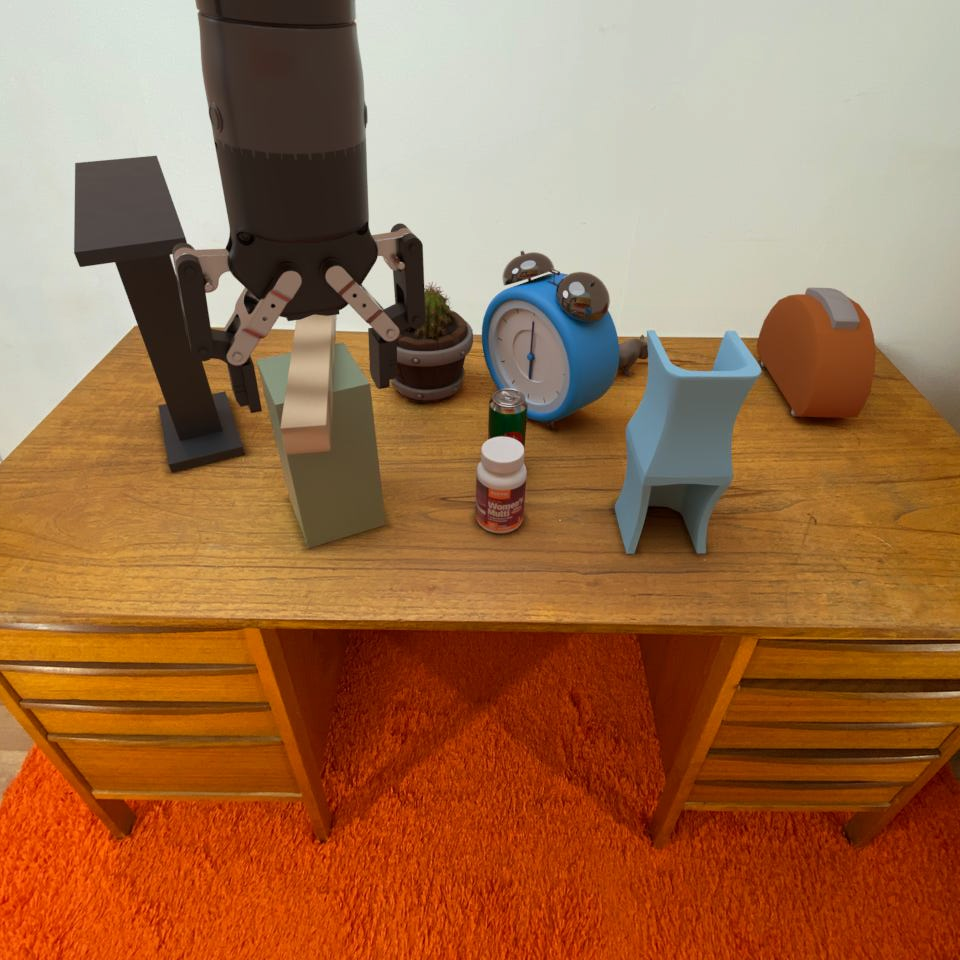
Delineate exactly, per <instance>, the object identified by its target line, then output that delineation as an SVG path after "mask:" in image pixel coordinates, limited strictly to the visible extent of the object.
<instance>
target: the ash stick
mask: <svg viewBox="0 0 960 960" xmlns="http://www.w3.org/2000/svg"><path fill="white" fill-rule="evenodd" d="M337 317H338V315H330V316H323V315H311V316H309V317H306V318H303V319H301V320H295V327H294V333H293V340H292V345H291V352H292V353H291V352H290V353H291V359H290V366H289V373H288V380H287V386H286V393H285V400H284V407H283V414H282V420H281V427H280V429H281V434H282V438H283V442H284V447H285V451H286V454H287V455H288V454H301V453H313V452H326V451H331V432H332V409H333V386H334V363H335V344H336V339H337Z"/></svg>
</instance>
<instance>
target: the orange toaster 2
mask: <svg viewBox="0 0 960 960" xmlns="http://www.w3.org/2000/svg"><path fill="white" fill-rule="evenodd" d="M872 327H873V326H872V323H871V319H870V318H869V316H868V315H867V313H866V312H865V310H864V308H862V306H861V304H859V303H858V302H856V301H855V300H853V299H852V298H850V297H849V296H848V295H846V294H845V293H844V292H842V290H839V289H836V288H831V287H807V288H806V290H805V292H804V294H802V293H801V294H799V293H798V294H790V295H787V296H785V297H783V298H780V299H779V300H777V302H776V303H775V304H774V305H773V306H772V307H771V308H770V310H769V312H768V313H767V315H766V317H765V319H764V320H763V323H762V325H761V328H760V331H759V334H758V338H757V343H756V352H757V355H758V357H759V359H760V361H761V362H760V365H761V366H760V367H762V368H766V370H767V372H768V373H769V374H770V377H771V378H772V379H773V381H774V383H775V385H776V386H777V387H778V389H779V391H780V392H781V394H782V395H783V397H784V399H785V400H786V402H787V403H788V405H789V406H790V408H791V411H790V414H791V416H792V417H797V418H798V417H799V418H832V419H833V418H837V419H838V418H839V419H845V418H846V419H850V418H857V417H858V416H859V415H860V413H861V412H862V410H863V408H864V407H865V405H866V403H867V400H868V398H869V396H870V394H871V390H872V386H873V380H874V375H875V370H876V369H875V368H876V356H877V355H876V354H877V353H876V352H877V351H876V343H875V334H874V331H873V328H872Z"/></svg>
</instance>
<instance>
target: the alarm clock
mask: <svg viewBox="0 0 960 960" xmlns="http://www.w3.org/2000/svg"><path fill="white" fill-rule="evenodd" d="M519 252H520V255H517V256H516V257H513V258H512V259H510V260H509V262H507V264H506V265H505V267H504V268H503V272H502V278H501V279H502V284H503V286H508V285H513V284H515V283H516V284H517V283H519V282H521V283H519V284H517V285H513V286H511V287H508V288H505V289H503V290H502V291H500V292H499V293H498V294H496V295H495V296H494V297H493V298H492V299H491V300H490V302H489V304H488V306H487V308H486V310H485V312H484V315H483V319H482V324H481V325H482V326H481V347H482V353H483V357H484V358H483V359H484V362H485V364H486V368H487V371H488V374H489V375H490V378H491V380H492V383H493V384H494V385H495V387H496V388H497V391H498V390H500V389H515V390H518V391H520V392H522V393H523V394H524V395H525V400H526V401H527V404H528V409H527V419H529V420H532V421H535V422H539V423H547V426H548V427H549V429H550V431H553V430H555V426H554V423H555V422H558V421H560V420H562V419H564V418H567V417H569V416H570V415H572V414H574V413H575V412H578V411H579V410H581V409H583V408H585V407H587V406H589V405H591V404H592V403H594V402H597V401H598V400H600V399H601V398H602V397H603V396H605V394H607V393H608V391H609V390H610V389H611V387H612V386H613V384H614V381H615V379H616V376H617V374H618V370H619V368H618V365H619V344H620V342H619V336H618V332H617V328H616V325H615V322H614V320H613V317H612V315H611V313H610V310H609V309H610V303H611V299H610V298H611V296H610V293H609V289H608V288H607V286H606V284H605V283H604V282H603V281H602V279H600V278H599V277H598V276H596V275H594V274H592V273H590V272H587V271H574V272H570V273H568V274H567V273H561V271H559V270H557V269H555V265H554V263H553V261H552V259H551V258H549V256H547V255H545V254H544V253H541V252H535V251H532V252H531V251H530V252H526V253H525V251H524V250H521V251H519ZM546 273H547V274H546ZM544 274H545V275H544ZM535 277H536V278H535ZM532 278H533V279H532ZM526 280H527V281H526ZM522 281H525V282H522Z"/></svg>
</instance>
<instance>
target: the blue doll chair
mask: <svg viewBox="0 0 960 960" xmlns="http://www.w3.org/2000/svg"><path fill="white" fill-rule="evenodd" d="M646 342H647V345H648V358H647V379H646V387H645V390H644V392H643V396H642V398H641V401H640V403H639V405H638V407H637V409H636V411H635V412H634V414H633V415H632V417H631V418H630V420H629V421H628V422H627V424H626V427H625V445H626V469H625V472H626V473H625V477H624V482H623V485H622V487H621V491H620V493H619V496H618V497H617V500H616V502H615V504H614V513H615V517H616V520H617V523H618V527H619V528H618V529H619V531H620V535H621V539H622V543H623V546H624V547H623V548H624V550H625V554H626V555H635V553H636V550H637V548H638V543H639V542H640V538H641V534H642V530H643V528H644V524H645V520H646V517H647V512H648V508H649V507H665V508H669V509H671V510H673V511H676V512H678V513H679V514H681V516H682V518H683V521H684V524H685V526H686V528H687V532H688V534H689V537H690V539H691V542H692V545H693V547H694V550H695V552H696V554H697V555H699V554H707V535H708V534H707V533H708V532H707V531H708V526H709V522H710V518H711V515H712V513H713V510H714V509H715V508H716V505H717V504H718V502H719V501H720V499H721V498H722V496H723V495H724V493H725V492H726V491H727V490H728V489H729V487H730V486H731V485H732V481H733V479H734V467H733V456H732V455H733V454H732V453H733V452H732V451H733V450H732V448H733V447H732V443H733V434H734V428H735V423H736V422H737V418H738V416H739V412H740V411H741V408H742V406H743V404H744V402H745V401H746V399H747V397H748V395H749V393H750V392H751V390H752V389H753V387H754V386H755V384H756V383H757V381H758V379H759V378H760V376H761V374H762V368H761V366H760V364H759V363H758V361H757V360H756V358H755V357H754V356H753V353H752V352H751V351H750V350H749V348H748V347H747V345H746V343H744V341H743V339H742V338H741V337H740V335H739V334H738V333H737V331H736V330H726V331H725V333H724V334H723V337H722V340H721V342H720V344H719V345H720V346H719V348H718V351H717V354H716V356H715V360H714V363H713V366H712V368H711V370H689V369H684V368H682V367H679V366H677V365H675V364H673V363H672V362H671V360H670V358H669V357H668V354H667V353H666V350H665V348H664V346H663V344H662V342H661V340H660V338H659V336H658V334H657V332H656V330H655V329H654V330H653V329H652V330H646Z"/></svg>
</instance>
